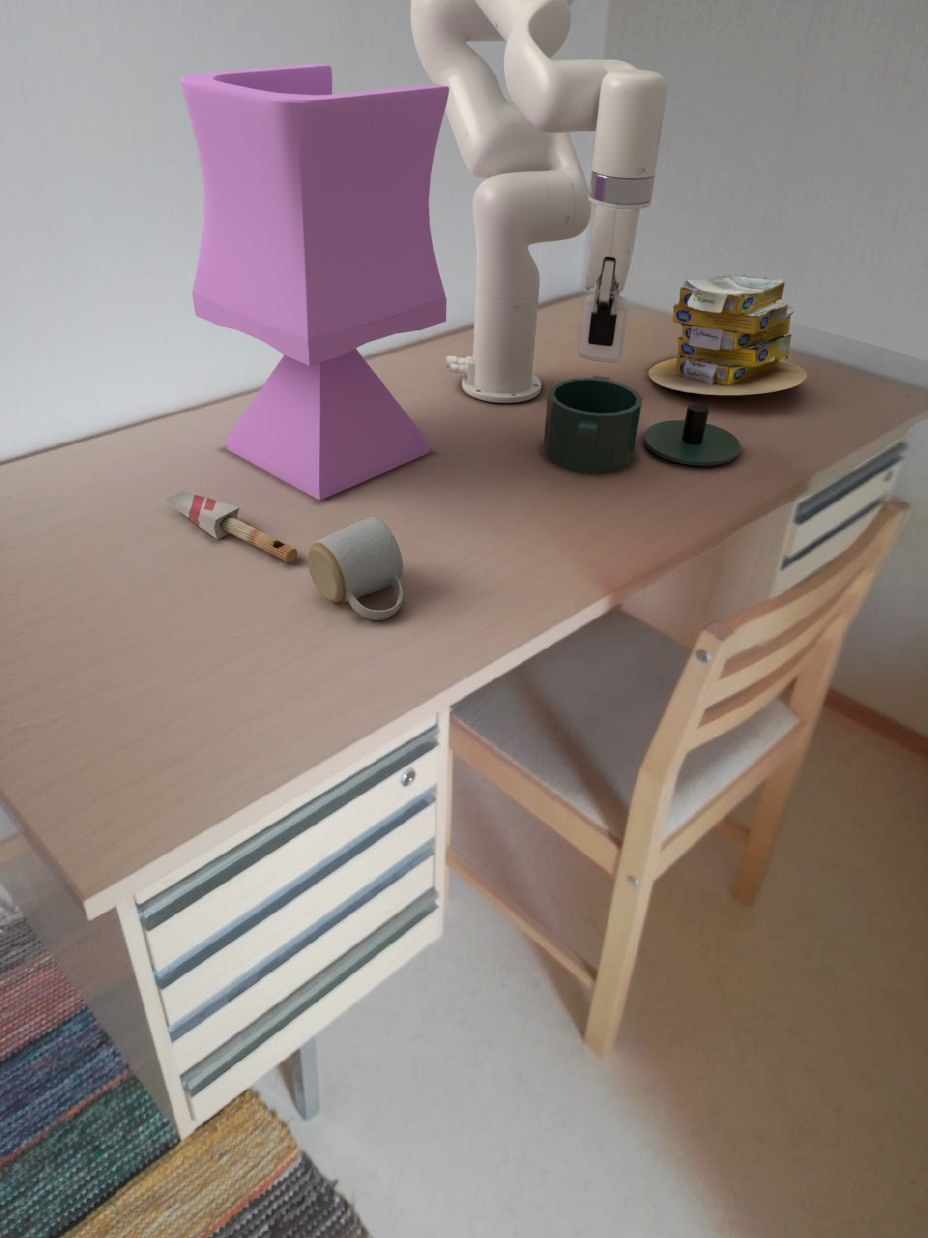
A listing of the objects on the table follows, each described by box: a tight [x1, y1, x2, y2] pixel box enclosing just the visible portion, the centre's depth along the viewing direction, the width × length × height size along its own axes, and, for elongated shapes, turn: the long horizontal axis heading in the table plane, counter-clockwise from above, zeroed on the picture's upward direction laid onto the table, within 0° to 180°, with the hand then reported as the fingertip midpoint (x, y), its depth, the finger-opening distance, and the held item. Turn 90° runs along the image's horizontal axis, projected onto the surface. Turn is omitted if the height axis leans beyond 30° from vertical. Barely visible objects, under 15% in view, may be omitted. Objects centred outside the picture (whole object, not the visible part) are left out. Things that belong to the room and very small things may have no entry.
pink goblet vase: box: [179, 63, 449, 501], centre depth 118 cm, size 22×22×45 cm
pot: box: [542, 375, 643, 475], centre depth 132 cm, size 13×18×8 cm
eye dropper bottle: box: [578, 284, 629, 363], centre depth 123 cm, size 4×6×12 cm
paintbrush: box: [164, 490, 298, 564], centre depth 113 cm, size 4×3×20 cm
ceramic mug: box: [307, 516, 404, 621], centre depth 102 cm, size 11×8×8 cm
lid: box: [643, 402, 741, 467], centre depth 135 cm, size 14×14×6 cm
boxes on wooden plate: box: [648, 272, 808, 398], centre depth 152 cm, size 25×25×17 cm
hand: (602, 337), depth 125 cm, fingers closed on eye dropper bottle, 3 cm apart
